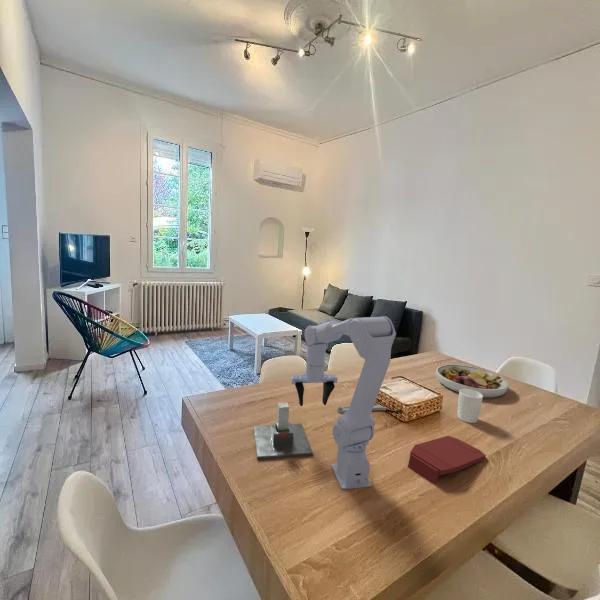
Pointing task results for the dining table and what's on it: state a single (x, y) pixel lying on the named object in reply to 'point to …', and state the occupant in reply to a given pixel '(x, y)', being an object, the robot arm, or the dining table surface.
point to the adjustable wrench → (376, 407)
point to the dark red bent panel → (442, 457)
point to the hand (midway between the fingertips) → (312, 404)
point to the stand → (281, 442)
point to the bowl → (471, 380)
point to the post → (282, 417)
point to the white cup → (469, 405)
